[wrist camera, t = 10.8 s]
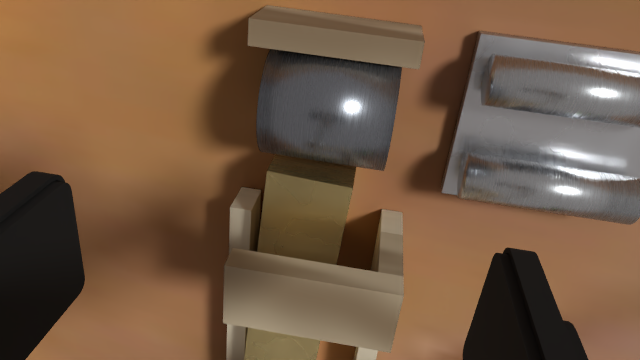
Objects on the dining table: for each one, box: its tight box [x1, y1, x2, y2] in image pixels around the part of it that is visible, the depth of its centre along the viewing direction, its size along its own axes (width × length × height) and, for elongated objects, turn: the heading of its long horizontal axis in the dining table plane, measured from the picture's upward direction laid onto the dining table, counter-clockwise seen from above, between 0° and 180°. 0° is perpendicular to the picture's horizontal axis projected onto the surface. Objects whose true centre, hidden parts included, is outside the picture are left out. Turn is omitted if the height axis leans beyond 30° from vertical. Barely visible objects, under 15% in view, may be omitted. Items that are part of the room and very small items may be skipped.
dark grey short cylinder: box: [256, 49, 402, 171], centre depth 21 cm, size 5×4×4 cm
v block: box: [441, 31, 640, 225], centre depth 21 cm, size 8×7×3 cm
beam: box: [223, 5, 425, 360], centre depth 26 cm, size 30×8×6 cm, turn 174°
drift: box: [244, 154, 356, 360], centre depth 26 cm, size 14×4×4 cm, turn 171°
